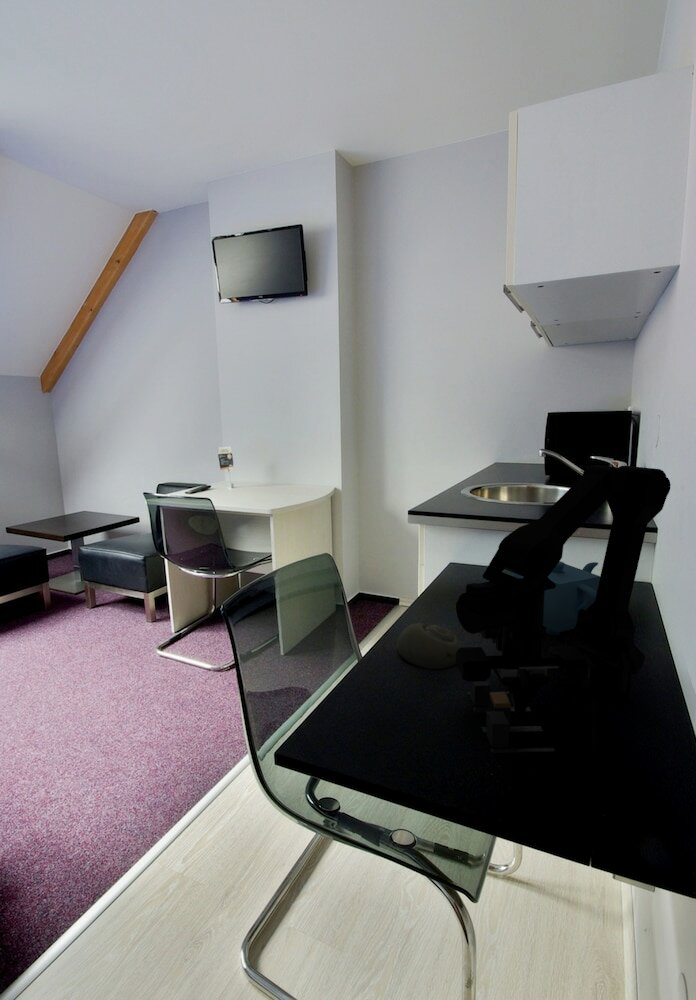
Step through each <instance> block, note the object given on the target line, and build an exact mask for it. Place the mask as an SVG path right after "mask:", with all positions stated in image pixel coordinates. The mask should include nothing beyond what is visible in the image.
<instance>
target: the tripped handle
mask: <svg viewBox="0 0 696 1000" xmlns="http://www.w3.org/2000/svg"><path fill="white" fill-rule="evenodd" d="M505 692H506V691H490V696H489V706H488V707H489V712H494V711H503V712H504V714H505V716H506V718H507V720H508V722H509V726H511V717H512V715H511V713H512V712H511V707H512V701H510V700H511V699H509V696H508V695H506V693H505Z"/></svg>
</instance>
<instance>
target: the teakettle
mask: <svg viewBox="0 0 696 1000" xmlns="http://www.w3.org/2000/svg"><path fill="white" fill-rule="evenodd" d="M598 565H599V562H595V561H594V562H589V563H587V564H585V565H584V566H583V568H582V569H581V568H579V567H575V566H572V565H570V564H567V563H565V562H564V561H561V560H560V561H559V563H558V564H557V565H556V567H555V568H554V569H553V571H552V572H551V574H550V575H549V576H548V578H549V579H550V580H551V581H553V582H554V583H555V584H556V587H555V588H554V589H549V590H545V595H544V613H543V627H545V628H546V629H545V633H546V635H550V636H559V635H560V634H561V633H563V632H565V631H570V630H574V628H575V626H576V623H577V618H578V612H579V611H580V609H584V610H586V609H587V608H588V607H589V606H590V605H591V604H592V603H593V602H594V601H595V598H596V594H597V589H598V585H599V580H600V576H601V575H597V574H595V573H592V572H593V570H594V569H595V568H596V567H597V566H598ZM512 576H513V577H516V578H518V579H519V578H524V577H523V576H520V575H518V574H515V573H513V575H512Z"/></svg>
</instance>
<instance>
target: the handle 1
mask: <svg viewBox="0 0 696 1000" xmlns="http://www.w3.org/2000/svg"><path fill="white" fill-rule="evenodd" d="M469 683H470V684H469V685H470V686H469V690H470V691H469V692H470V695H469V697H470V699H471V702H472V704H473V708H475V707H489V700H490V692H491V690H490V689H491V686H490V683H489V681H488V679H487V680H486V681H476V682H469Z"/></svg>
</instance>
